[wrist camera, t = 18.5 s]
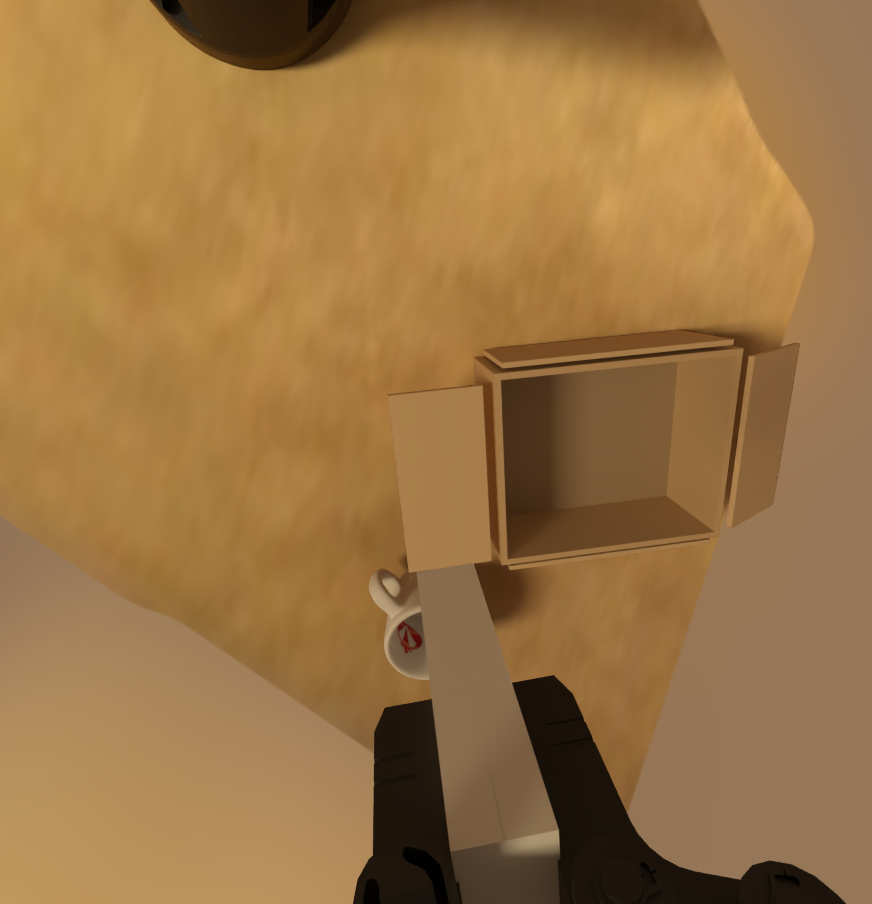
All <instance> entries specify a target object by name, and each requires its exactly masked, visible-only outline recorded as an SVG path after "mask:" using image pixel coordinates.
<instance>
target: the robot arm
mask: <svg viewBox="0 0 872 904" xmlns="http://www.w3.org/2000/svg"><path fill="white" fill-rule="evenodd" d="M150 1H151V2H152V4H153V5H154V6H155V7H156V9H157V10H158V11H159V12H160V13H161V15H162V16H163V17H164V18H165V19H166V20H167V22H168V23H169V24H170V25H171V26H172V27H173V28H174V29H175V30H176V31H177V32H178V33H179V34H180V35H181V36H182V37H184V38H185V39H186V40H187V41H189V42H190V43H191V44H192V45H194V46H195V47H197V48H198V49H200V50H201V51H203V52H204V53H206V54H208V55H210V56H212V57H214V58H216V59H218V60H220V61H223V62H225V63H228V64H231V65H234V66H238V67H243V68H249V69H274V68H280V67H284V66H288V65H291V64H294V63H296V62H299V61H301V60H302V59H304V58H306V57H308V56H309V55H311V54H313V53H314V52H315V51H317V50H318V49H319V48H320V47H321V46H323V45H324V44H325V43H326V42H327V41H328V40H329V39H330V37H331V36H332V35H333V34H334V32H335V31H336V30H337V28H338V27H339V25H340V24H341V22H342V21H343V19H344V17H345V15H346V13H347V11H348V9H349V7H350V4H351V2H352V0H150ZM416 573H417V581H418V589H419V597H420V606H421V614H422V622H423V630H424V639H425V647H426V655H427V663H428V672H429V680H430V688H431V696H432V699H430V700H424V701H419V702H413V703H408V704H403V705H397V706H392V707H386V708H384V711H383V713H382V715H381V718H380V720H379V722H378V725H377V727H376V729H375V732H374V761H375V764H374V811H373V812H374V813H373V814H374V816H373V856H372V857H371V858H370V859H369V860H368V862H367V864H366V865H365V867H364V869H363V871H362V873H361V875H360V876H359V878H358V881H357V886H356V891H355V896H354V902H353V904H846V903H845V902H844V901H843V900H842V899H841V898H840V897H839V896H838V895H837V894H836V893H834V892H833V891H832V890H831V889H830V888H829V887H827V886H826V885H825V884H824V883H823V882H821V881H820V880H819V879H818V878H817V877H815V876H813V875H812V874H810V873H807V872H805V871H803V870H802V869H799V868H798V867H796V866H794V865H791V864H786V863H781V862H775V861H766V862H763V863H759V864H755V865H752V866H751V867H750V868H749V870H748V871H747V872H746V873H745V874H744V875H743V877H742V878H741V880H739V879H733V878H728V877H722V876H717V875H711V874H706V873H700V872H695V871H691V870H688V869H685V868H681V867H678V866H677V865H675V864H673V863H671V862H669V861H667V860H665V859H663V858H662V857H661V856H660V855H659V854H657V853H656V852H655V851H653V850H652V849H651V848H650V847H649V846H648V845H647V844H646V843H645V842H644V840H643V839H642V838H641V837H640V836H639V835H638V833H637V832H636V830H635V828H634V826H633V825H632V823H631V821H630V819H629V817H628V815H627V812H626V810H625V808H624V806H623V804H622V801H621V799H620V797H619V795H618V793H617V790H616V788H615V786H614V784H613V782H612V779H611V777H610V775H609V773H608V771H607V768H606V766H605V764H604V762H603V760H602V757H601V755H600V753H599V751H598V749H597V746H596V744H595V742H593V739H592V735H591V733H590V731H589V729H588V727H587V724H586V722H584V719H583V716H582V713H581V711H580V709H579V707H578V705H577V702H576V700H575V698H574V696H573V694H572V693H571V692H570V691H569V690H568V689H567V688H566V687H565V686H564V685H563V684H562V683H561V682H560V681H559V680H558V679H557V678H556V677H555V676H554V675H552V676H547V677H541V678H536V679H530V680H525V681H519V682H514V683H512V682H511V679H510V676H509V673H508V669H507V666H506V663H505V660H504V657H503V654H502V651H501V647H500V644H499V641H498V638H497V635H496V632H495V629H494V626H493V622H492V619H491V616H490V613H489V610H488V607H487V604H486V601H485V597H484V594H483V591H482V588H481V585H480V582H479V579H478V575H477V572H476V569H475V566H474V563H469V564H463V565H457V566H451V567H445V568H439V569H433V570H427V571H421V572H416Z"/></svg>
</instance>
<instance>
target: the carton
mask: <svg viewBox="0 0 872 904" xmlns="http://www.w3.org/2000/svg"><path fill="white" fill-rule="evenodd" d="M733 344H734V339H730V338H724V337H718V336H712V335H706V334H701V333H695V332H689V331H683V330H675V331H665V332H655V333H645V334H635V335H625V336H615V337H605V338H595V339H585V340H575V341H565V342H555V343H545V344H535V345H525V346H515V347H505V348H495V349H485V350H483V355H485V356H482V357H474V371H475V385H480V384H481V385H483V403H484V423H485V443H486V463H487V482H488V502H489V522H490V539H491V541H492V543H493V546H494V548H495V550H496V553H497V555H498V557H499V560H500V562H501V565H508V567H509V569H510V570H515V569H523V568H530V567H538V566H545V565H553V564H560V563H568V562H575V561H583V560H590V559H598V558H605V557H612V556H620V555H627V554H635V553H642V552H650V551H657V550H665V549H672V548H680V547H687V546H695V545H702V544H709V542H710V539H709V538H712V537H719V536H720V528H721V521H722V513H723V505H724V497H725V489H726V482H727V474H728V466H729V458H730V450H731V443H732V435H733V427H734V419H735V411H736V404H737V396H738V388H739V380H740V372H741V365H742V357H743V349H744V348H740V347H735V346H730V345H733Z"/></svg>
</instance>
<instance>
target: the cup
mask: <svg viewBox="0 0 872 904" xmlns="http://www.w3.org/2000/svg"><path fill="white" fill-rule="evenodd" d="M432 570H433V569H432ZM425 571H427V570H425ZM418 572H421V571H418ZM383 584H384V585H385V586H386V588H387V589H388V590H389V592H390V593H389V592H388V591H387V590H386V589H385V587H384V585H383ZM369 591H370V594H371V597H372V598H373V600H374V601H375V603H376V604H377V605H378V606H379V607H380V608H381V609H382V610H384V611H385V612H386V613H387V614H388V616H387V623H386V631H385V638H384V648H385V653H386V656H387V658H388V660H389V662H390V663H391V665H392V666H393V667H394V668H395V669H396V670H397V671H399V672H400V673H402V674H403V675H406V676H408V677H411V678H414V679H420V680H429V672H428V663H427V655H426V647H425V639H424V630H423V622H422V614H421V606H420V597H419V589H418V581H417V573H416V572H411V573H409V571H408V572H406V573H405V574H403V575H402V576H401V577H400V578H398V577H396V576H395V575H394V574H393V573H391V572H390V571H388V570H386V569H379V570H377V571H376V572H375V573H374V574H373V575H372V576H371V578H370V581H369Z"/></svg>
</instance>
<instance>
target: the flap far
mask: <svg viewBox="0 0 872 904" xmlns="http://www.w3.org/2000/svg"><path fill="white" fill-rule="evenodd" d="M799 346H800V344H798V343H793V344H789V345H786V346H782V347H779V348H775V349H772V350H768V351H764V352H761V353H757V354H754V355H750V356H749V358H748V366H747V373H746V381H745V388H744V396H743V404H742V411H741V419H740V426H739V434H738V441H737V449H736V456H735V464H734V471H733V479H732V487H731V494H730V502H729V509H728V517H727V524H726V526H727V527H730V528H732V527H734V526H736V525H738V524H740V523H741V522H743V521H745V520H747V519H749V518H750V517H752V516H754V515H756V514H757V513H759V512H761V511H763V510H764V509H766V508H768V507H770V506H771V505H773V503H774V496H775V490H776V485H777V479H778V473H779V467H780V460H781V455H782V449H783V442H784V436H785V430H786V424H787V417H788V412H789V406H790V400H791V394H792V388H793V382H794V376H795V370H796V364H797V358H798V352H799Z"/></svg>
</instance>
